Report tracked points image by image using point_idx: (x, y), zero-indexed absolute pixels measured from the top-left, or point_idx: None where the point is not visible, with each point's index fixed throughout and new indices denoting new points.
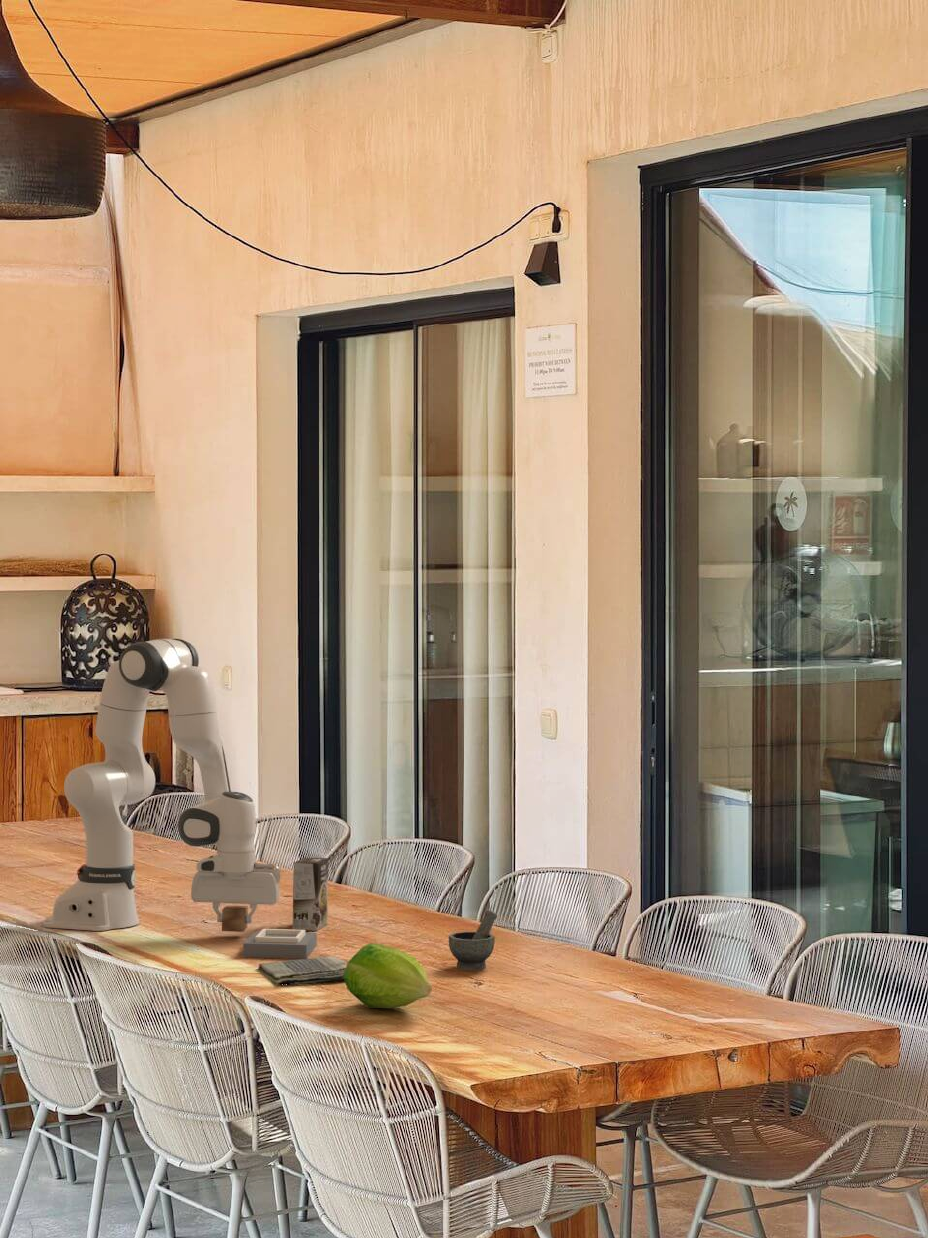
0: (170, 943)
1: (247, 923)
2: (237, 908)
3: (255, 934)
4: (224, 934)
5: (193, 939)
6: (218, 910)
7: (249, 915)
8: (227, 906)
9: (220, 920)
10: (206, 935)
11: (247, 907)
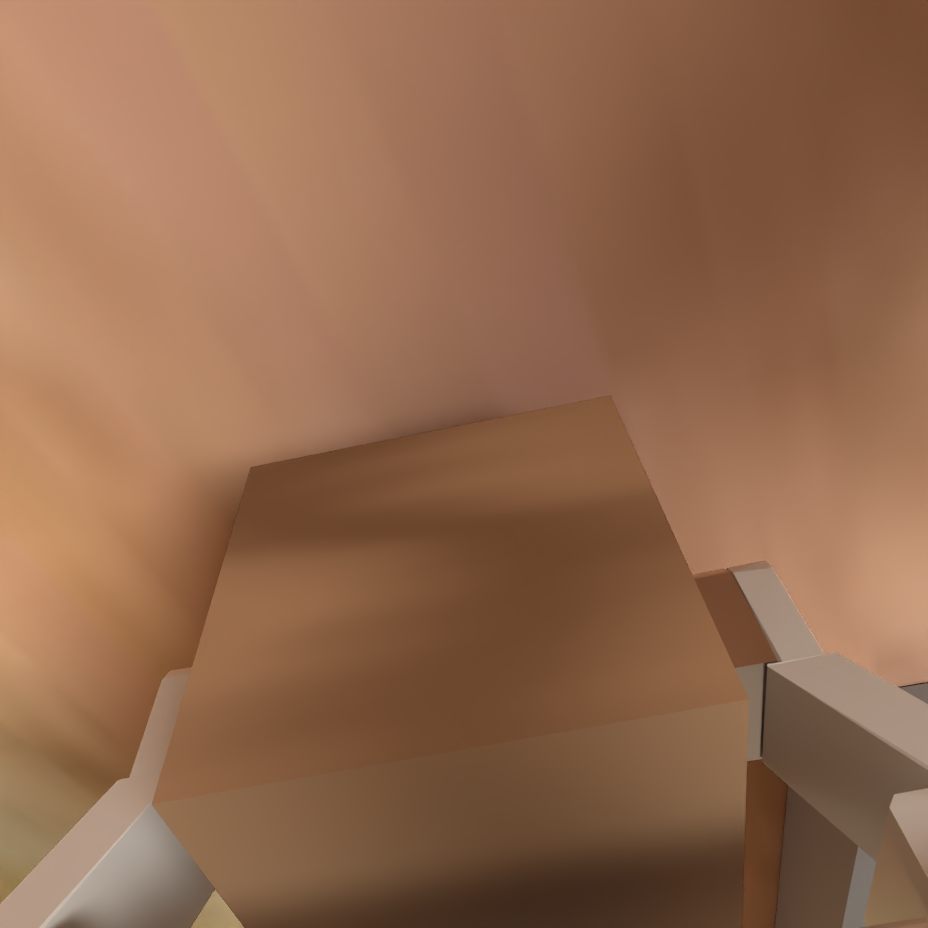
0: (7, 861)
1: (628, 435)
2: (569, 922)
3: None
4: (218, 356)
5: (66, 700)
6: (162, 911)
7: (788, 769)
8: (248, 866)
9: None
10: (33, 492)
11: (740, 712)
